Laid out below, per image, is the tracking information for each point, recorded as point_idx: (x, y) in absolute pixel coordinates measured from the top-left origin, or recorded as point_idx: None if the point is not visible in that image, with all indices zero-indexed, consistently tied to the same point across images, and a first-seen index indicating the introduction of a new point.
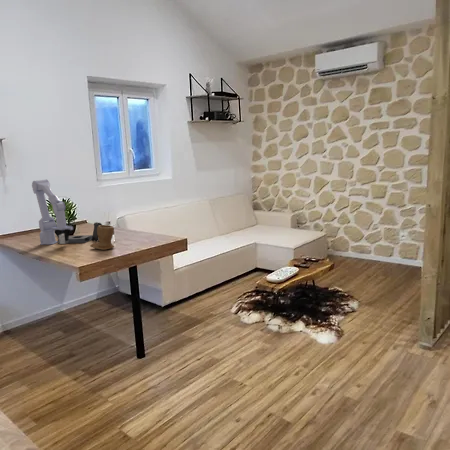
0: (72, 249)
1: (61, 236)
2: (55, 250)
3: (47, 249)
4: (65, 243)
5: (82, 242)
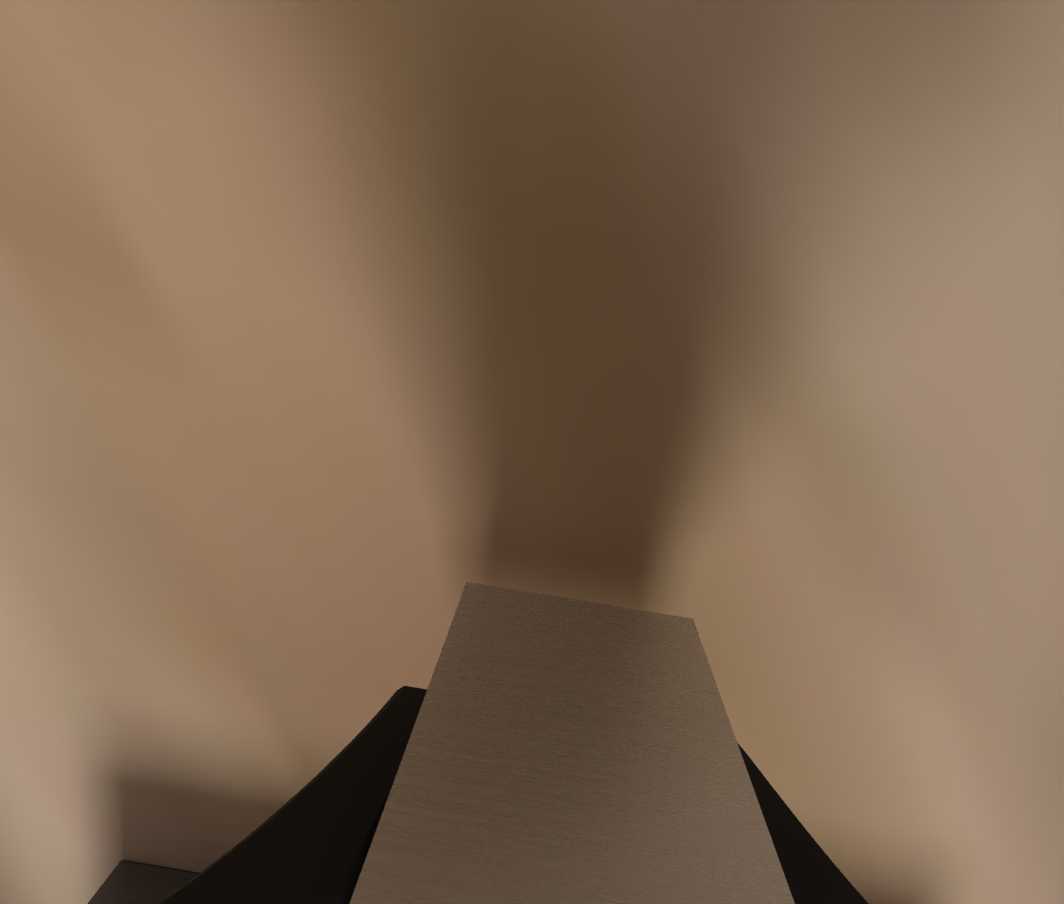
0: (39, 82)
1: (586, 848)
2: (660, 77)
3: (1049, 338)
4: (464, 597)
5: (183, 883)
